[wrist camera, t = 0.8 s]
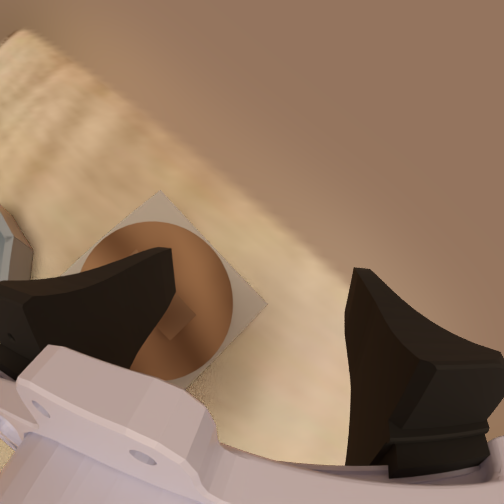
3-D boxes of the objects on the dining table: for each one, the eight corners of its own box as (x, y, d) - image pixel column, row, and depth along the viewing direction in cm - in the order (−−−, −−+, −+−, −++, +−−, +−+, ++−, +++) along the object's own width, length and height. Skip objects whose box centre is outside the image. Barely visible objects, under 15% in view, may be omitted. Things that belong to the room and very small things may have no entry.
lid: (155, 410, 22) (155, 428, 17) (50, 293, 21) (28, 285, 17) (260, 303, 27) (282, 298, 22) (159, 196, 26) (161, 169, 22)
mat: (155, 416, 22) (155, 417, 21) (44, 293, 21) (43, 292, 21) (266, 304, 27) (267, 304, 27) (160, 191, 27) (160, 189, 26)
